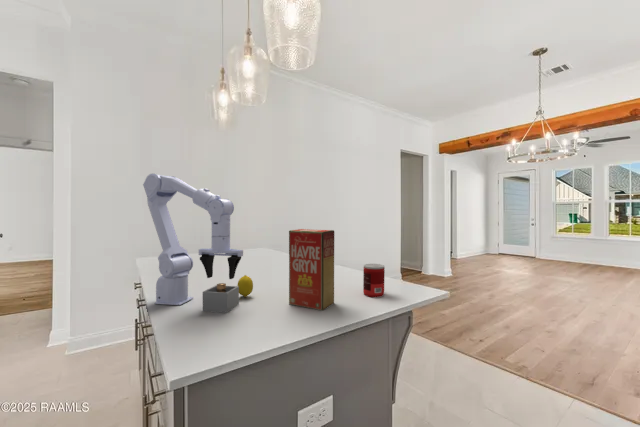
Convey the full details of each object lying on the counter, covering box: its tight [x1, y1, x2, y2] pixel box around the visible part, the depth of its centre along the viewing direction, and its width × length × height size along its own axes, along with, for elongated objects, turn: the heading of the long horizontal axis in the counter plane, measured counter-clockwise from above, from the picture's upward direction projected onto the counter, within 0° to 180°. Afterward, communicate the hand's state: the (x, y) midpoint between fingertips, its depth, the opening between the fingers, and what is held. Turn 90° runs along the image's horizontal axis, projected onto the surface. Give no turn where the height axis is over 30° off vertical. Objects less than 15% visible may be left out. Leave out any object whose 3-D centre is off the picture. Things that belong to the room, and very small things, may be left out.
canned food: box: [362, 263, 385, 298], centre depth 111 cm, size 8×8×11 cm
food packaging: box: [288, 228, 335, 311], centre depth 99 cm, size 13×9×25 cm
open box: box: [202, 284, 240, 314], centre depth 95 cm, size 8×8×6 cm
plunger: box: [216, 282, 227, 292], centre depth 95 cm, size 6×6×7 cm
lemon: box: [236, 274, 254, 298], centre depth 106 cm, size 6×6×8 cm
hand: (220, 277), depth 95 cm, fingers open, 7 cm apart
